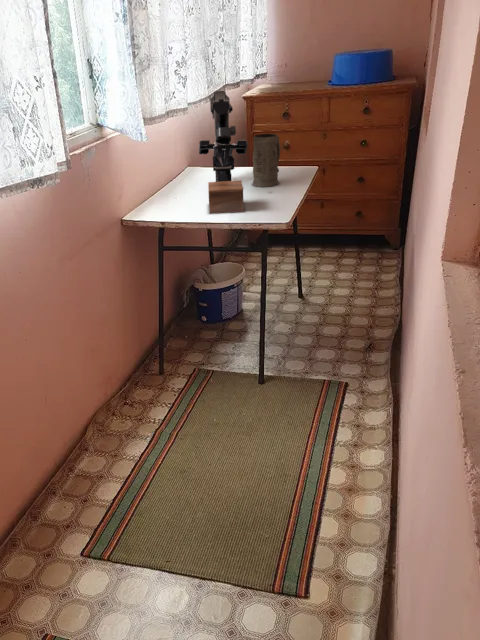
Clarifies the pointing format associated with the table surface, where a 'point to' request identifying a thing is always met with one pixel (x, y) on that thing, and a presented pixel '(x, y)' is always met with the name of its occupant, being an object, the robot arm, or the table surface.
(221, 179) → the robot arm
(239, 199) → the walnut box
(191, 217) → the table surface
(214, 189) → the lid
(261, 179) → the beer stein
